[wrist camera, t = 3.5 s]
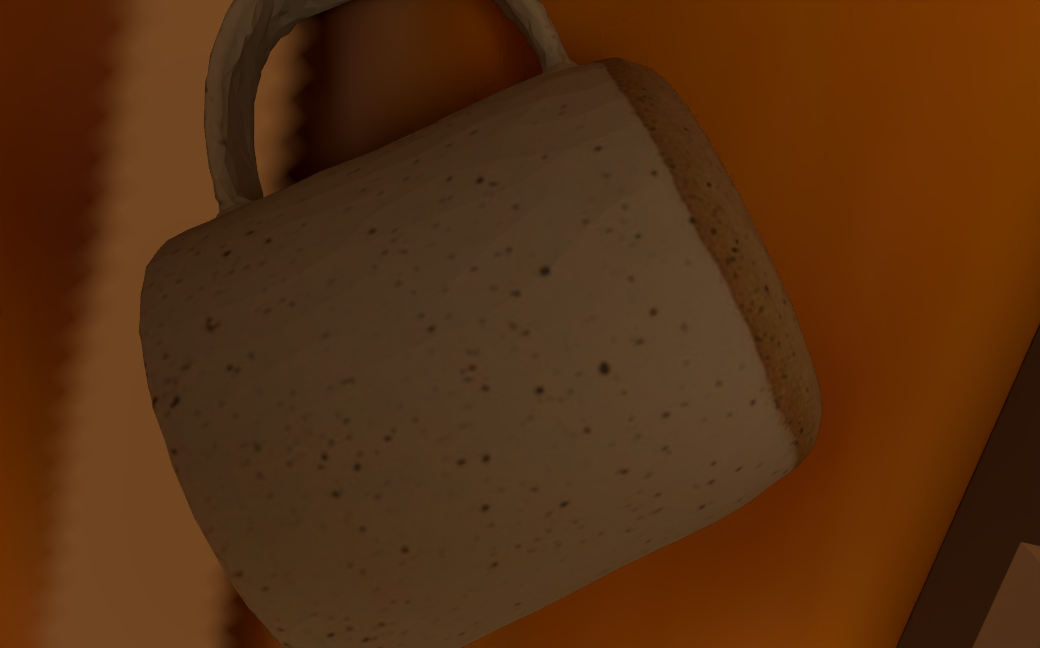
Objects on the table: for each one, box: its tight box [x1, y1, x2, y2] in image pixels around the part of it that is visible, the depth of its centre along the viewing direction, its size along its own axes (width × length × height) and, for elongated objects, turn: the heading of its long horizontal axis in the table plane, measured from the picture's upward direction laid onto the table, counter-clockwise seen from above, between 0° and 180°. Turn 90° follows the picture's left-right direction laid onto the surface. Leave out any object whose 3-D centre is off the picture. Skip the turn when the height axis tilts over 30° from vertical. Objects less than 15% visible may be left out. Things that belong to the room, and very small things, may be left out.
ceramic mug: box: [139, 0, 822, 648], centre depth 15 cm, size 11×8×8 cm
